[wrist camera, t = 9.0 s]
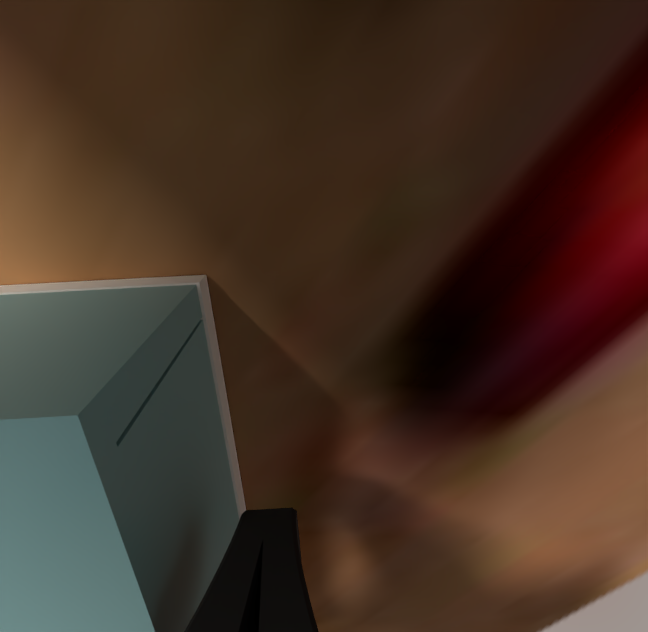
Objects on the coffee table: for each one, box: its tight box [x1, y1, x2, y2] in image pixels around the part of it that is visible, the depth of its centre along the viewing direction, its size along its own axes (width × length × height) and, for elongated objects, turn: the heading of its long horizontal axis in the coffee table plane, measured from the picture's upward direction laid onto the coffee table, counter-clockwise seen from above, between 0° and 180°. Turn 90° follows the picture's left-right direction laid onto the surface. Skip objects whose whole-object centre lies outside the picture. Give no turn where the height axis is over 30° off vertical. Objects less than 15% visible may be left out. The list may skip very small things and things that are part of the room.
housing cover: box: [0, 285, 239, 632], centre depth 10 cm, size 12×6×6 cm, turn 3°
